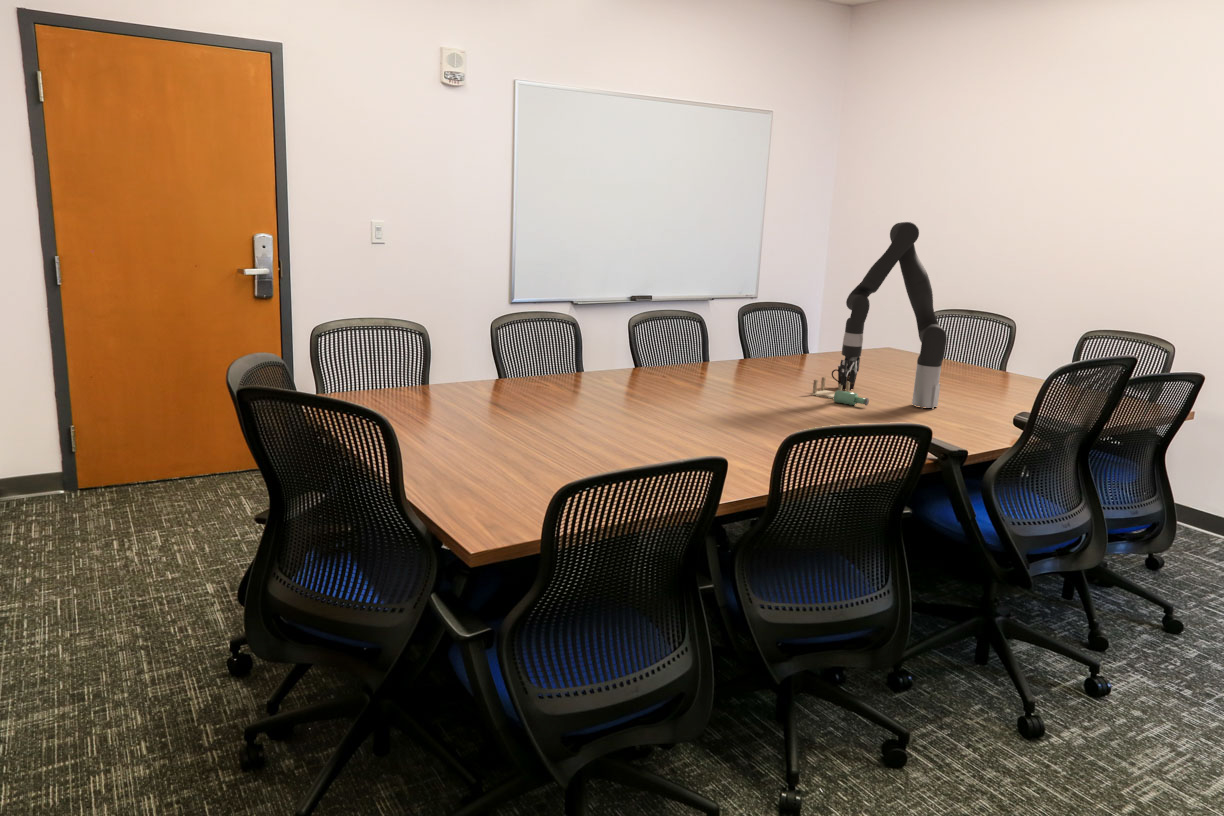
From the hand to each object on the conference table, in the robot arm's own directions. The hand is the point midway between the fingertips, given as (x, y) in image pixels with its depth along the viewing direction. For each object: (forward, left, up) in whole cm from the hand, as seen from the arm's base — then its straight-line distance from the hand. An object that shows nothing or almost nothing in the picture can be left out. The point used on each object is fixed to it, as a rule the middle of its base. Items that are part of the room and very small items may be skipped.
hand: (847, 383), depth 350 cm
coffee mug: (+13, -27, -8) cm, 31 cm away
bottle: (-3, 0, -8) cm, 8 cm away
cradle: (+10, -9, -8) cm, 15 cm away
